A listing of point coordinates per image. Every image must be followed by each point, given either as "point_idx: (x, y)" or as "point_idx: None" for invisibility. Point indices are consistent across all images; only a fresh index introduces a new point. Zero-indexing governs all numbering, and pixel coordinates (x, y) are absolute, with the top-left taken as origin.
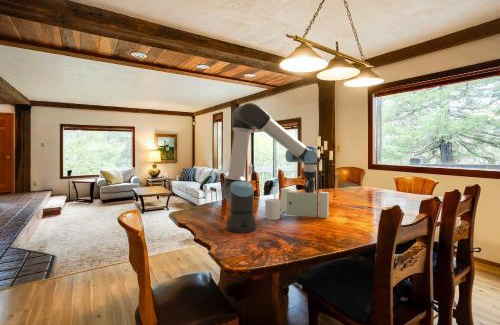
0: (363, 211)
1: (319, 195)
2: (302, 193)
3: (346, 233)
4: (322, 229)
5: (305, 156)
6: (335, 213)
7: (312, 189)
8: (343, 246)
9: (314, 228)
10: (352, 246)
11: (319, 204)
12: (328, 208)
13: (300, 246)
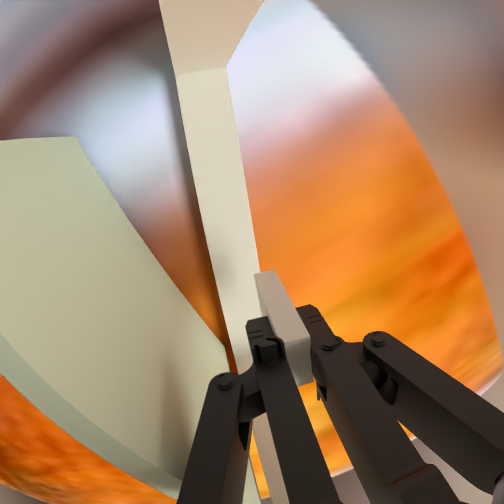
0: (467, 384)
1: (272, 501)
2: (95, 442)
3: (100, 488)
4: (52, 440)
5: None
6: None
7: (425, 436)
8: (18, 486)
9: (29, 418)
10: (38, 497)
11: (252, 429)
12: None
13: None
